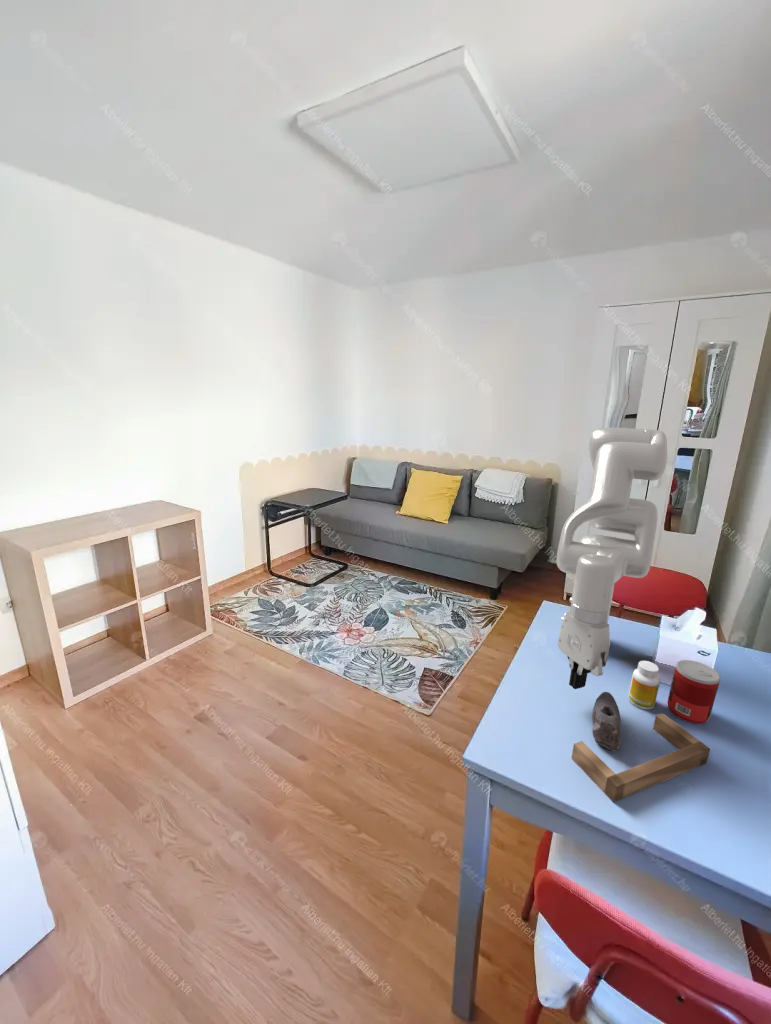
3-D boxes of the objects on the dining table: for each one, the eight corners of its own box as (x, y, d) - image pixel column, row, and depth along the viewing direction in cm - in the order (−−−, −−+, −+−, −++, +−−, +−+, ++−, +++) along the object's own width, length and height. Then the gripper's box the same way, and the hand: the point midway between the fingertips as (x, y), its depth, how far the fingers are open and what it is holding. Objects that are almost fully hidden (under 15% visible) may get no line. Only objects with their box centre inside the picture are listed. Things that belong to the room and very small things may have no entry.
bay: (571, 758, 85) (573, 743, 84) (659, 726, 94) (662, 713, 93) (613, 802, 76) (616, 786, 75) (706, 763, 85) (710, 748, 84)
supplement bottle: (655, 713, 98) (664, 676, 95) (628, 705, 100) (636, 669, 97) (653, 698, 102) (661, 662, 99) (627, 691, 104) (634, 656, 102)
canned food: (715, 727, 94) (728, 684, 91) (674, 721, 95) (685, 678, 92) (699, 703, 101) (709, 662, 98) (661, 697, 102) (670, 657, 99)
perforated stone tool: (591, 703, 100) (595, 678, 98) (616, 711, 98) (622, 685, 96) (588, 750, 87) (594, 722, 85) (618, 760, 85) (624, 731, 83)
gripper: (550, 599, 99) (540, 670, 103) (604, 632, 85) (589, 711, 90) (576, 594, 101) (565, 664, 106) (632, 626, 88) (617, 703, 93)
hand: (576, 685), depth 98 cm, fingers closed
